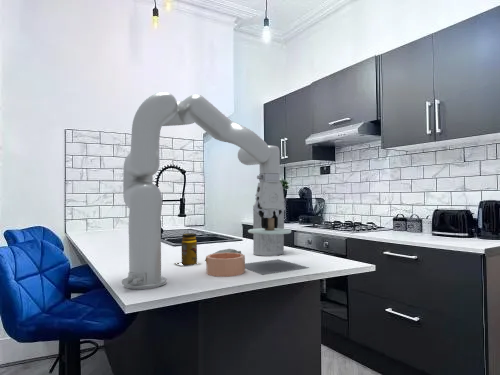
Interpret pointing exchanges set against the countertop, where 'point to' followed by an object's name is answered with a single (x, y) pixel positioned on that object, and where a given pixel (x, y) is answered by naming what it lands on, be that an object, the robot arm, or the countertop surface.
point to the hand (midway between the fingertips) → (269, 227)
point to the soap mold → (227, 251)
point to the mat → (272, 266)
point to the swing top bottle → (268, 237)
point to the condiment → (189, 249)
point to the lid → (269, 229)
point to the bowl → (225, 264)
